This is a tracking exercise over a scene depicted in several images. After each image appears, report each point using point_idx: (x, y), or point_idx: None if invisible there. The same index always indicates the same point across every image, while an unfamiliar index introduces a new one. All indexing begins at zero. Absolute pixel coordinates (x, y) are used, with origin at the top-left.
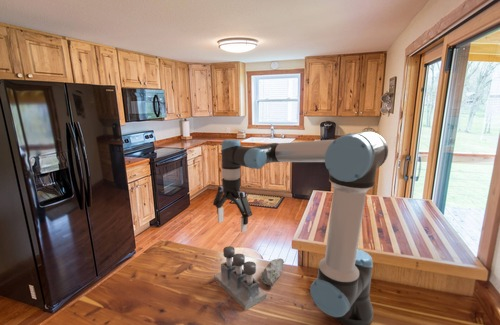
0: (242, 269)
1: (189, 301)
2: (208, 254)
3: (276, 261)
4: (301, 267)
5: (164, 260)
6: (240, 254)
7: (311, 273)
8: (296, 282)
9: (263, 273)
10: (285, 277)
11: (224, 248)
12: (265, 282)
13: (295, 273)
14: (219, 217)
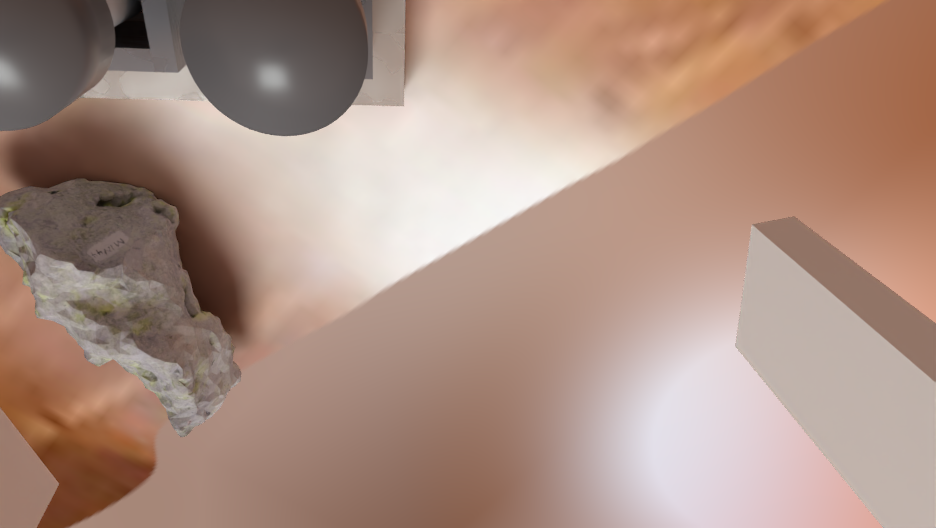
0: (131, 69)
1: None
2: (753, 57)
3: (163, 389)
4: (145, 465)
5: None
6: (28, 99)
7: (54, 472)
8: (5, 358)
9: (122, 231)
10: None
11: (342, 5)
12: (64, 187)
13: (104, 407)
14: (846, 323)
